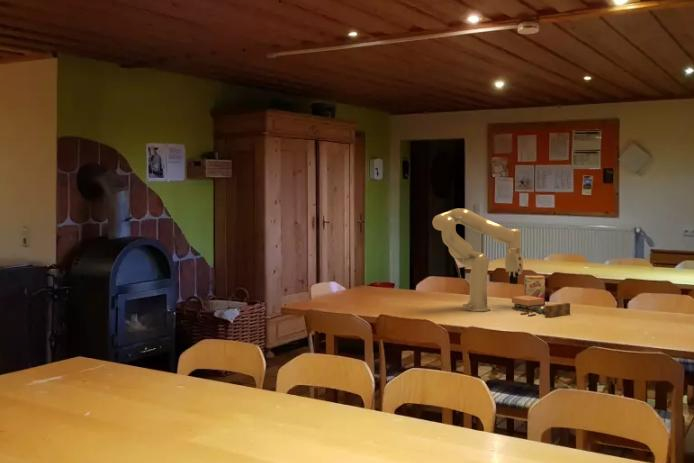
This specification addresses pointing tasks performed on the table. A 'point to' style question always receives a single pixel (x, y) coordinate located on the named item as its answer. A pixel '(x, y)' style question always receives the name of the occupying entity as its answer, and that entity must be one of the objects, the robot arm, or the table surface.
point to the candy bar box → (535, 286)
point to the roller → (540, 310)
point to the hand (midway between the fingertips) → (513, 283)
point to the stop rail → (557, 310)
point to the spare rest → (528, 313)
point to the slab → (527, 300)
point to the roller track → (527, 308)
